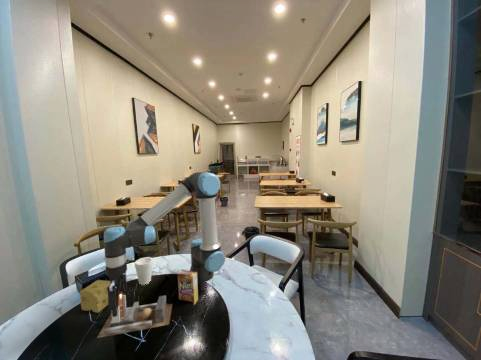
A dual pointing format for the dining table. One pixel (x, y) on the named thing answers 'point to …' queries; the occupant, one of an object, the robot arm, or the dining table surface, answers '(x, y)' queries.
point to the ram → (126, 313)
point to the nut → (146, 313)
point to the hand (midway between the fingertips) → (119, 315)
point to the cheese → (95, 296)
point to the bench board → (142, 319)
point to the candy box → (188, 286)
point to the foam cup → (144, 270)
